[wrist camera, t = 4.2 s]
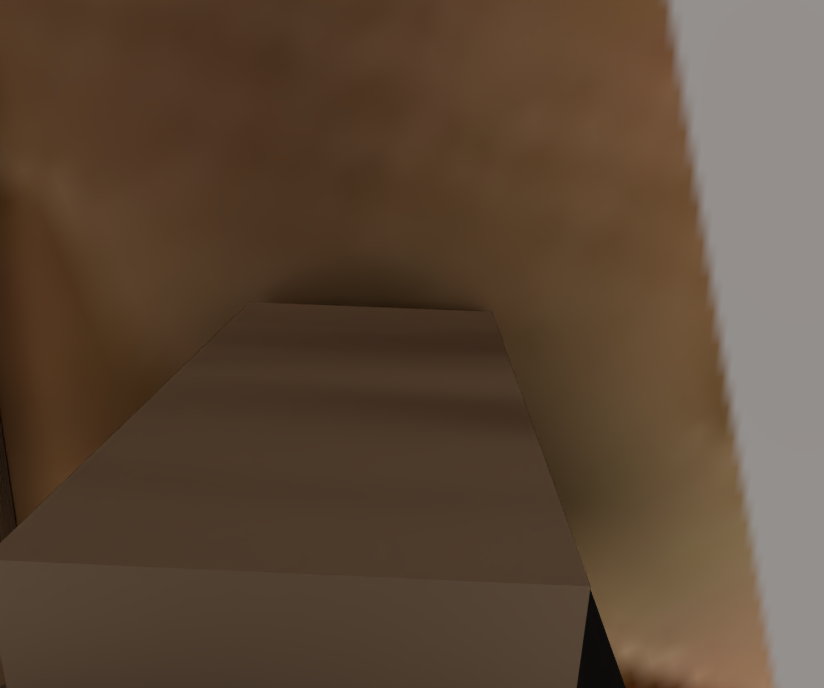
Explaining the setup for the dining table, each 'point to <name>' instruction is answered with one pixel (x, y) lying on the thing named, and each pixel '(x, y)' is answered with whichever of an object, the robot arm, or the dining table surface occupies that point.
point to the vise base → (5, 512)
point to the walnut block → (307, 522)
